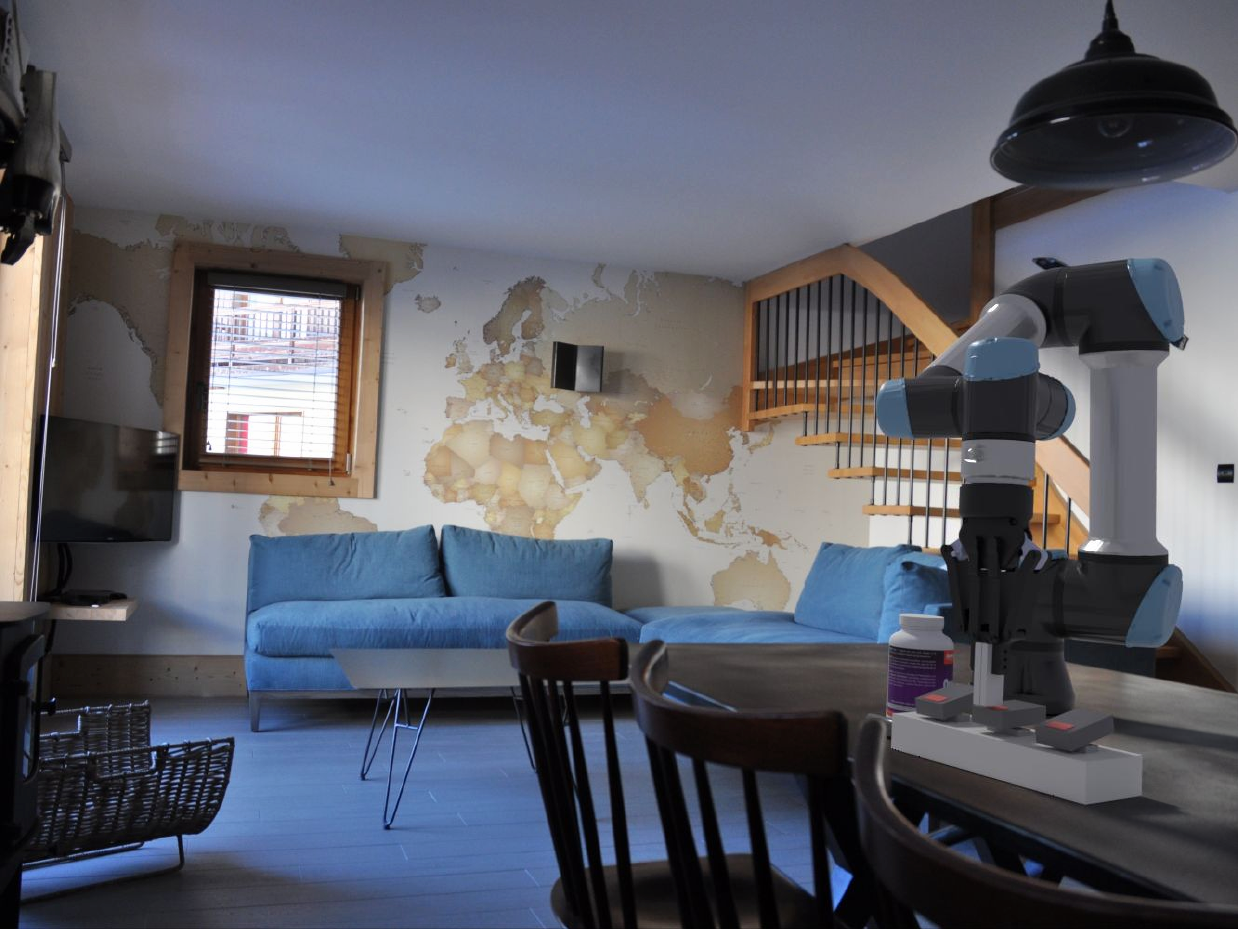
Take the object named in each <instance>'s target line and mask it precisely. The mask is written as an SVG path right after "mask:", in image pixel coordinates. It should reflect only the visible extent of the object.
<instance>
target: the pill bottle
mask: <svg viewBox="0 0 1238 929" xmlns="http://www.w3.org/2000/svg"><path fill="white" fill-rule="evenodd" d="M898 619H899V620H898V623H899V626H900V630H899V631H895V632H894V633H893V634H891V635H890V637H889V639H888V659H887V660H888V663H887V664H888V665H887V666H888V667H887V668H888V669H887V691H886V692H887V693H886V694H887V695H886V714H885V715H886V716H885V717H887V718H891V719H892V713H904V712H916V704H915V698H916V697H919V696H922V695H925V694H927V693H930V692H933V691H935V690H938V689H941V688H944V687H946V686H949V685H952V684H954V681H953V680H954V678H953V677H954V674H953V673H954V651H955V650H954V649H955V648H954V642H953V641H952V639H951V637H949V636H948V635H946V634H944V633H943V629H944V628H945V627H944V626H945V616H941V615H934V614H921V613H900V614H899V618H898Z"/></svg>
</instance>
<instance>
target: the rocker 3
mask: <svg viewBox="0 0 1238 929" xmlns="http://www.w3.org/2000/svg"><path fill="white" fill-rule="evenodd" d="M1034 730H1035V734H1036V743H1039V744H1043V745H1047V746H1051V747H1055V748H1060V749H1064V750H1068V751H1073V750H1076V749H1078V748H1080V747H1082V746H1085V745H1087V744H1089V743H1094V742H1096V741H1098V740H1100V739H1102V738H1104V737H1107V736H1109V735H1111V734H1114V733H1115V723H1114V715H1113V713H1112V714H1111V713H1107V712H1103V711H1102V712H1101V711H1097V710H1092V709H1087V708H1082V707H1075V709H1073V710H1071V711H1068V712H1066V713H1063V714H1058V715H1056V716H1054V717H1052V718H1050V719H1046V721H1044V722H1042V723H1039V724H1035V725H1034Z"/></svg>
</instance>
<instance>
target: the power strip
mask: <svg viewBox="0 0 1238 929" xmlns="http://www.w3.org/2000/svg"><path fill="white" fill-rule="evenodd" d="M870 718H881V719H883V720H884V721H886V723H887V728H888V731H887V732H889V733H891V737H890V738H891V739H890V742H891V743H890V749H892V748H893V750H895V749H896V751H898V750H899V752H903V753H906V754H909V755H912V756H916V757H919V756H920V758H923V759H926V760H930V761H934V762H936V763H941V764H944V765H947V766H951V767H953V768H954V767H955V768H957V769H961V770H965V771H968V772H971V773H975V774H978V775H981V776H985V777H989V778H992V779H996V780H999V781H1002V782H1005V783H1009V784H1012V785H1016V786H1019V787H1023V788H1026V789H1030V790H1033V791H1037V792H1040V793H1044V794H1046V795H1050V796H1053V795H1054V796H1053V797H1057V798H1061V799H1064V800H1067V801H1071V802H1075V803H1078V804H1080V805H1084V806H1086V805H1091V804H1097V803H1098V804H1099V803H1105V802H1110V801H1116V800H1125V799H1128V798H1129V799H1130V798H1137V797H1141V796H1142V791H1143V785H1142V784H1143V759H1144V758H1143V756H1144V755H1143V754H1139V753H1135V752H1131V751H1127V750H1122V749H1117V748H1113V747H1108V746H1104V745H1101V744H1097V743H1094V742H1091V743H1089V744H1087V745H1085V746H1082V747H1080V748H1078V749H1076V750H1073V751H1068V750H1064V749H1060V748H1055V747H1051V746H1047V745H1043V744H1039V743H1036V734H1035V729H1032V728H1028V727H1025V726H1021V727H1014V728H1007V729H1000V728H995V727H991V726H987V725H983V724H979V723H975V722H972V714H967V713H965V712H964V713H961V714H958V715H956V716H953V717H951V718H948V719H946V720H941V719H937V718H933V717H929V716H925V715H921V714H917V713H916V712H904V713H892V719H891V718H887V717H886V716H883V715H879V714H875V713H872V712H871V713H868V714H866V716H865V719H870Z"/></svg>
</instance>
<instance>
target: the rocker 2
mask: <svg viewBox="0 0 1238 929" xmlns="http://www.w3.org/2000/svg"><path fill="white" fill-rule="evenodd" d="M971 715H972V722H975V723H979V724H983V725H987V726H991V727H995V728H1000V729H1007V728H1014V727H1028V726H1035V725H1037V724H1039V723H1042V722H1044V721H1047V719H1046V717H1047V714H1046V706H1042V705H1037V704H1033V703H1028V702H1023V701H1018V700H1009V701H1003V705H1002V706H981V705H977V704H976V705H972V709H971Z"/></svg>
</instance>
